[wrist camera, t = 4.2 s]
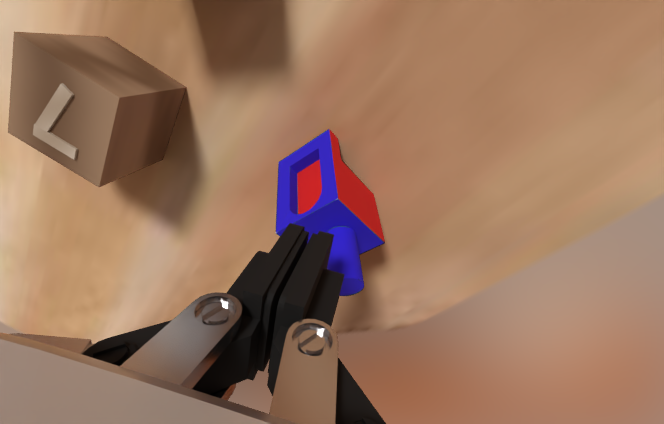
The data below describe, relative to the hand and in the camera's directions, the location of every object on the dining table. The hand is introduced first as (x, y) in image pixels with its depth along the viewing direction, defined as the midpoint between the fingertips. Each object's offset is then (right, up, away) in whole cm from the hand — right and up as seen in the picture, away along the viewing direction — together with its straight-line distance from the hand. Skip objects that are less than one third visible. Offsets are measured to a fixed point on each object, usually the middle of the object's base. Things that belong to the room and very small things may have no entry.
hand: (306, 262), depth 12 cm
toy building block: (+1, +3, +7) cm, 8 cm away
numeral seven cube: (-11, +8, +7) cm, 15 cm away
